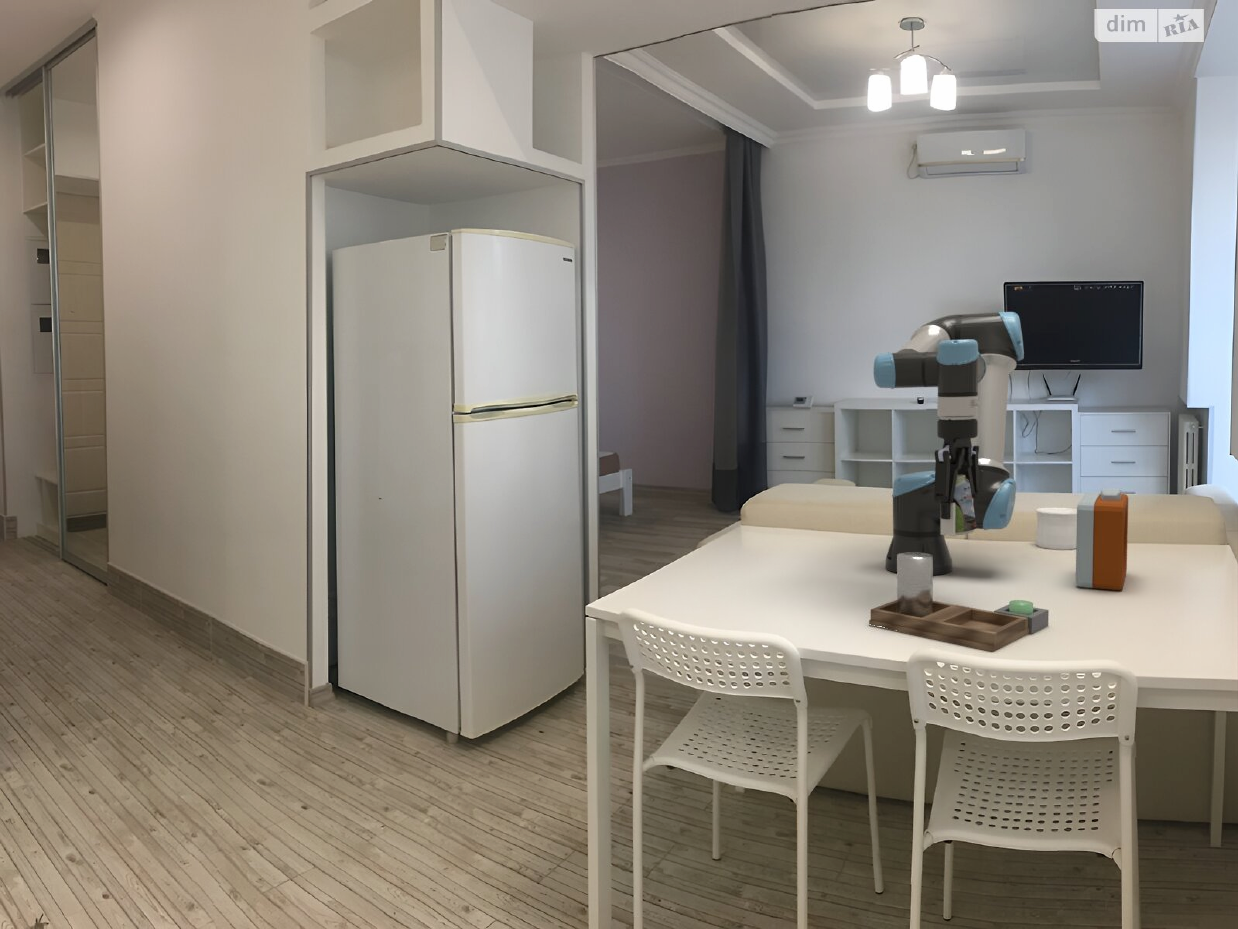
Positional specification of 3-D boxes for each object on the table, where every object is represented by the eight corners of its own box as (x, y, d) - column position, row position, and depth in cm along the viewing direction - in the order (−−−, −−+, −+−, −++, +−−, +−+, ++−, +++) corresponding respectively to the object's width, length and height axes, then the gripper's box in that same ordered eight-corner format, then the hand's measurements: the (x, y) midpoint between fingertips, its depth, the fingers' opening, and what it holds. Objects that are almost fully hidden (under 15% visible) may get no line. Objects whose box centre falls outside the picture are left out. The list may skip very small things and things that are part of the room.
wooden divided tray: (869, 625, 170) (869, 610, 169) (908, 610, 179) (908, 595, 179) (992, 651, 152) (993, 634, 152) (1029, 633, 161) (1029, 617, 161)
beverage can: (979, 537, 176) (979, 476, 175) (940, 537, 178) (940, 477, 176) (973, 531, 182) (973, 473, 181) (935, 531, 184) (935, 473, 182)
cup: (1085, 549, 229) (1086, 512, 228) (1046, 551, 229) (1046, 513, 228) (1067, 542, 238) (1068, 506, 237) (1029, 543, 238) (1030, 507, 237)
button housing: (993, 626, 166) (993, 611, 166) (1010, 618, 171) (1010, 603, 170) (1031, 634, 161) (1032, 617, 160) (1048, 625, 165) (1048, 609, 165)
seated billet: (890, 618, 170) (890, 556, 169) (908, 611, 175) (908, 550, 173) (921, 624, 166) (921, 560, 164) (939, 617, 170) (939, 555, 169)
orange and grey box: (1122, 592, 187) (1124, 495, 184) (1075, 588, 191) (1076, 493, 189) (1126, 574, 202) (1128, 483, 200) (1083, 570, 207) (1084, 482, 205)
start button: (1005, 626, 166) (1005, 603, 165) (1015, 622, 169) (1015, 599, 168) (1027, 631, 163) (1027, 606, 162) (1036, 626, 166) (1036, 602, 165)
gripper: (950, 421, 168) (950, 542, 171) (998, 415, 181) (997, 527, 184) (914, 420, 174) (914, 537, 176) (963, 414, 187) (963, 523, 189)
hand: (956, 532), depth 180 cm, fingers closed on beverage can, 7 cm apart
